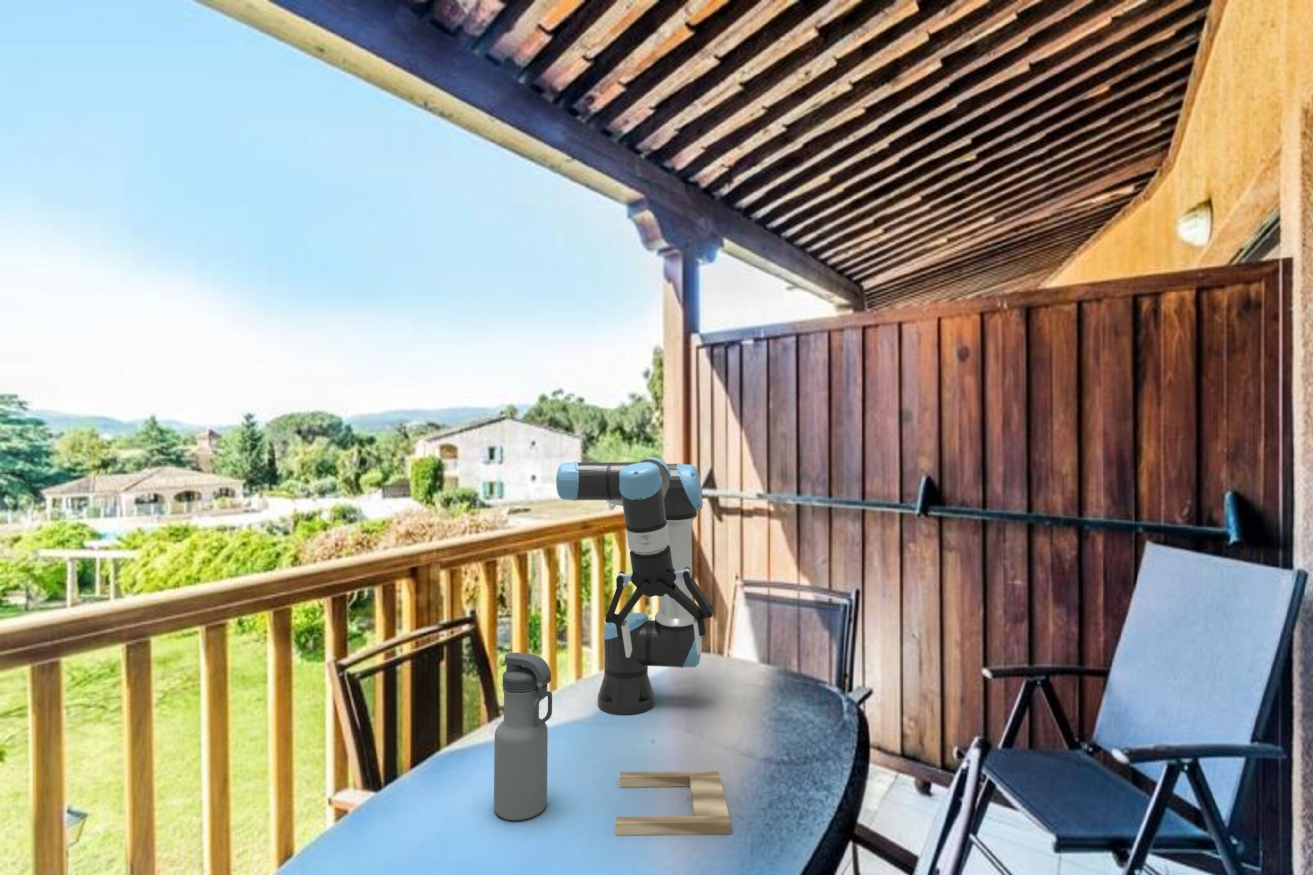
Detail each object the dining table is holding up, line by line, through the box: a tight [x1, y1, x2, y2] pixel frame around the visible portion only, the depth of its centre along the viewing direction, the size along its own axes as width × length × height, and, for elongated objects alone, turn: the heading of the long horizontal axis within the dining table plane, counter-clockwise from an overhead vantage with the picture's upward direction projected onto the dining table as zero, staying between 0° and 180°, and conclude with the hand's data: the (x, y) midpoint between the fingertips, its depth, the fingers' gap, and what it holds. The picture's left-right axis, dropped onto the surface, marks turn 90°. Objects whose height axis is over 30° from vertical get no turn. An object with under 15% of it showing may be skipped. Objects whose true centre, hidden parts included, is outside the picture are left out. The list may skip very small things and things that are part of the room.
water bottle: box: [493, 652, 553, 821], centre depth 118 cm, size 10×10×28 cm
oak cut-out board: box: [615, 770, 732, 836], centre depth 118 cm, size 18×20×2 cm
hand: (664, 652), depth 119 cm, fingers open, 13 cm apart
